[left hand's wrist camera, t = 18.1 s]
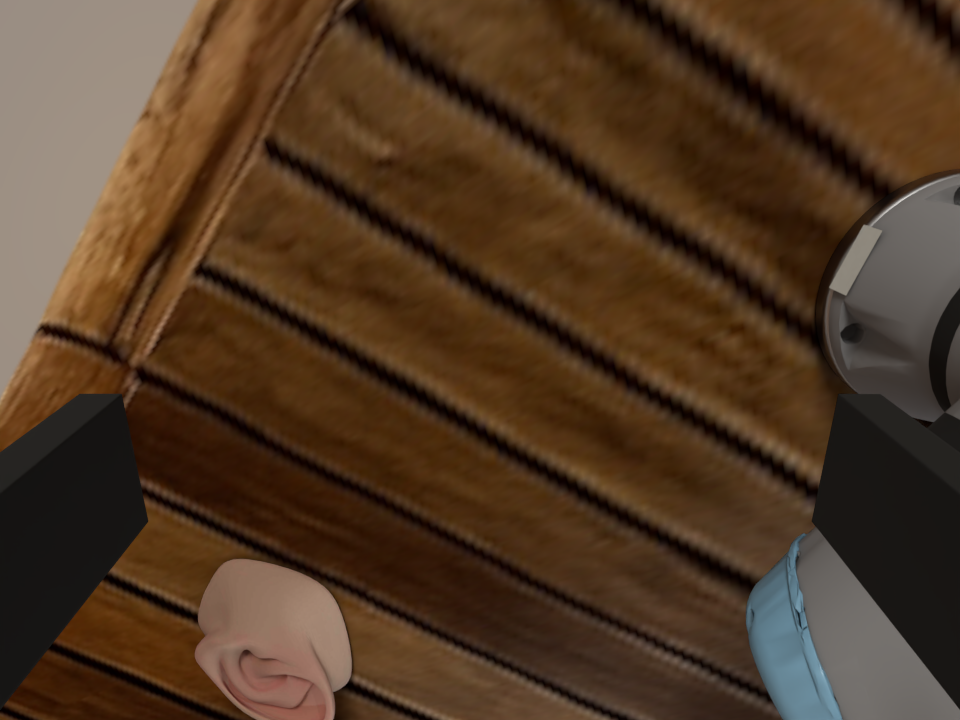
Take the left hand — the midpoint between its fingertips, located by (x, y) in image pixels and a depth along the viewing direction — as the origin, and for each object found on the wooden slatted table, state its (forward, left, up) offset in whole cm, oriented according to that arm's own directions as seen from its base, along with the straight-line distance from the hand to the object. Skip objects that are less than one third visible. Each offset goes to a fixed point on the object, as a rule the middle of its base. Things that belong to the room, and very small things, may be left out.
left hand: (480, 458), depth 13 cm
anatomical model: (-2, +35, -30) cm, 46 cm away
